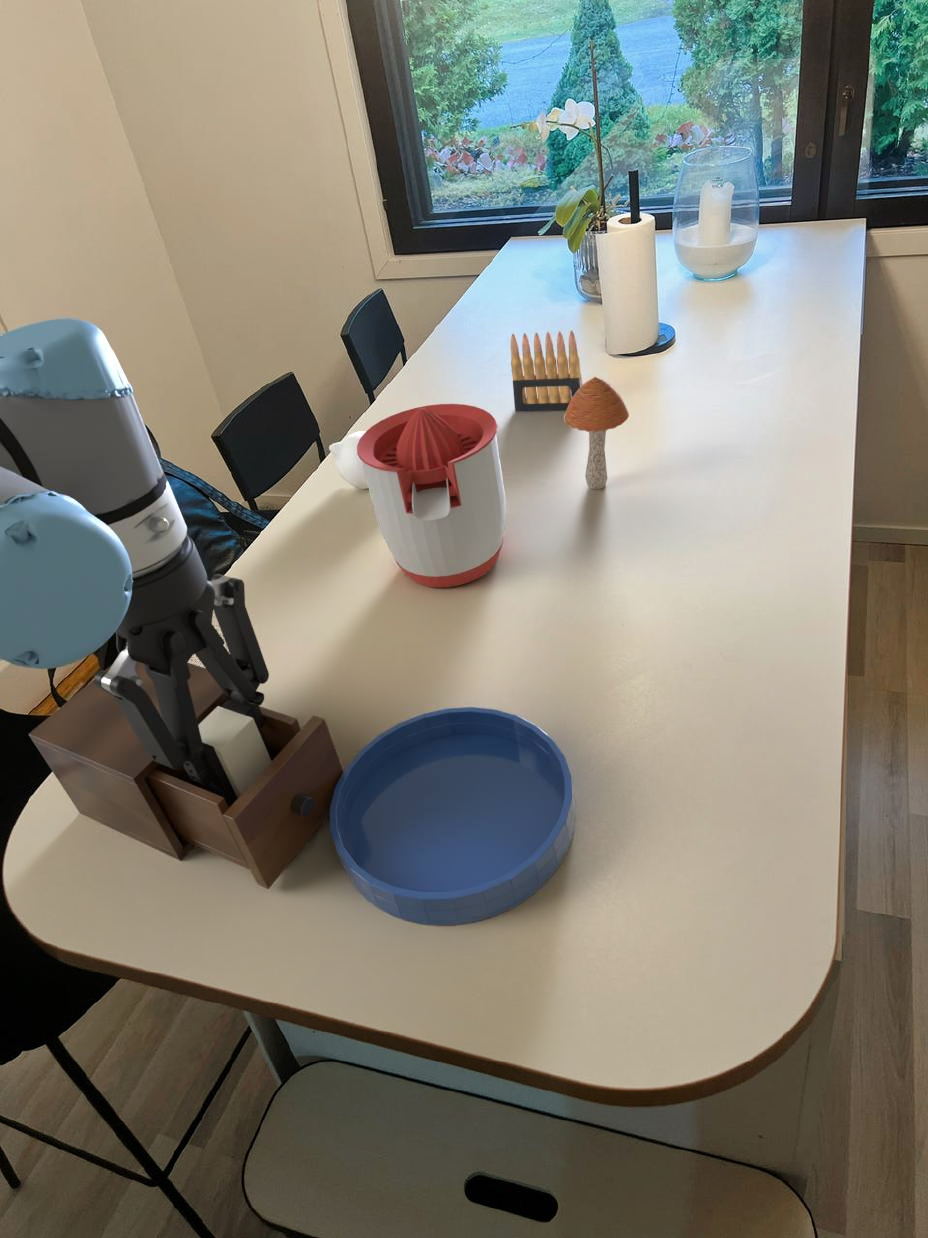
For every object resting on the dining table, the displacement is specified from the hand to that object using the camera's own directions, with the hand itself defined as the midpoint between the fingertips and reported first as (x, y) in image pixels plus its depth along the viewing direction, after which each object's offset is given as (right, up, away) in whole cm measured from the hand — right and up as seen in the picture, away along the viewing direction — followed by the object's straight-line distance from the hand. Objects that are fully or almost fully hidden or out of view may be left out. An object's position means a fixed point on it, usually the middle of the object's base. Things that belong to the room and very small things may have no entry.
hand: (242, 779), depth 74 cm
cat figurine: (+7, +32, +49) cm, 59 cm away
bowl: (+18, -4, 0) cm, 18 cm away
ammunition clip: (+32, +46, +61) cm, 83 cm away
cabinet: (-8, -2, +9) cm, 12 cm away
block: (0, -1, +1) cm, 1 cm away
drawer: (+1, -4, +3) cm, 5 cm away
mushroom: (+37, +31, +40) cm, 62 cm away
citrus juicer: (+17, +20, +31) cm, 41 cm away
